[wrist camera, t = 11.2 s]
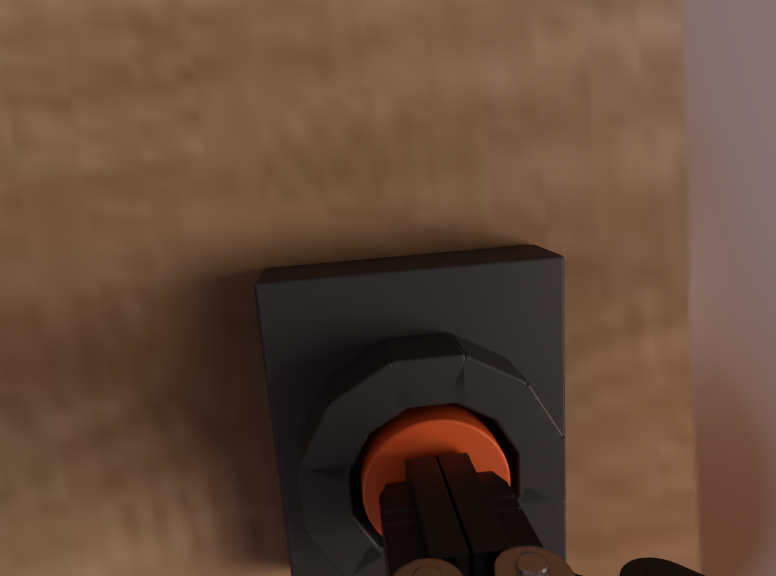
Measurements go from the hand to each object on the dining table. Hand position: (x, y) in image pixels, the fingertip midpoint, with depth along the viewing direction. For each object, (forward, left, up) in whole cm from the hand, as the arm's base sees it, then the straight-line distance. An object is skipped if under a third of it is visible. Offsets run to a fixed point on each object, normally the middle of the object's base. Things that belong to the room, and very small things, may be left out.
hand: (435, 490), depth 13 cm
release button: (0, 0, -2) cm, 2 cm away
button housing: (0, 0, -4) cm, 4 cm away
